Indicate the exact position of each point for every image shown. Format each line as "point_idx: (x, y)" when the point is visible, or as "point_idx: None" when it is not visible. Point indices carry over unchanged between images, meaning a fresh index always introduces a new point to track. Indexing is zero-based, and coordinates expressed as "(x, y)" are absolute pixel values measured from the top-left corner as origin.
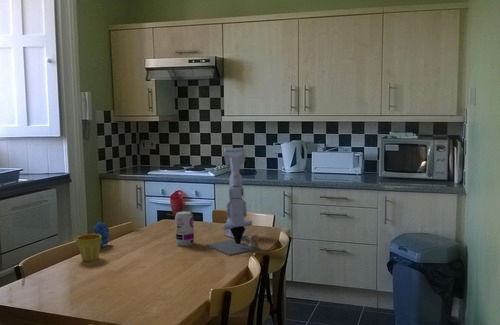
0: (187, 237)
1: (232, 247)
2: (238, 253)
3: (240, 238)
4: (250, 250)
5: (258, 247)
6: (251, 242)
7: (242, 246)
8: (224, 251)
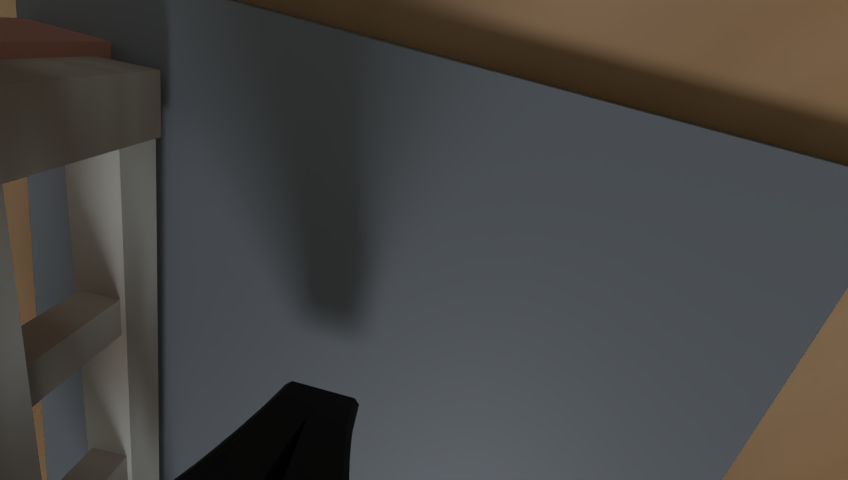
0: None
1: (406, 450)
2: (643, 112)
3: (243, 469)
4: (303, 22)
5: (28, 9)
6: (72, 144)
7: (236, 349)
8: (728, 413)
